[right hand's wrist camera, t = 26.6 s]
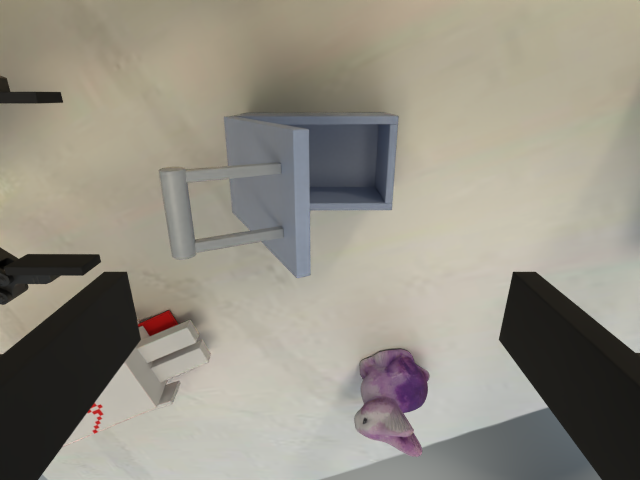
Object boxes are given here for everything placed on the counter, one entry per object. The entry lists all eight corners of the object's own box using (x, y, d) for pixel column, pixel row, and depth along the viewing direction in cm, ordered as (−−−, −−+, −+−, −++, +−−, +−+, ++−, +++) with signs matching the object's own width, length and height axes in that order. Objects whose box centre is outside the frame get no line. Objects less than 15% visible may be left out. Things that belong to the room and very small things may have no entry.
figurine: (343, 373, 60) (350, 457, 46) (389, 333, 57) (411, 410, 43) (384, 403, 62) (402, 492, 48) (430, 367, 59) (463, 450, 45)
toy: (212, 398, 50) (6, 485, 50) (224, 342, 62) (60, 411, 62) (167, 327, 46) (-57, 421, 46) (189, 282, 58) (13, 356, 58)
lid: (309, 128, 22) (155, 135, 19) (310, 275, 26) (182, 304, 22) (234, 116, 37) (139, 118, 33) (242, 211, 41) (157, 222, 37)
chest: (384, 112, 46) (398, 115, 37) (379, 191, 49) (391, 210, 41) (246, 112, 46) (230, 116, 37) (251, 191, 49) (238, 210, 41)
